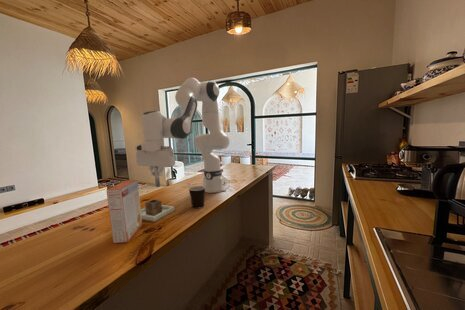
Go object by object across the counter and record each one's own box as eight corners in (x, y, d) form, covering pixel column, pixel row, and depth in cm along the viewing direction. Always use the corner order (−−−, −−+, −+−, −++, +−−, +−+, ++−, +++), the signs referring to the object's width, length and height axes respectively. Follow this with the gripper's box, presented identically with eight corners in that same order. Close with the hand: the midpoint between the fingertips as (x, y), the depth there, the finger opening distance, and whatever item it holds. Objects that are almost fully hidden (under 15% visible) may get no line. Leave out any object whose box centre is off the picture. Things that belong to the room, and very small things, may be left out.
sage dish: (154, 207, 109) (153, 203, 109) (174, 210, 104) (174, 206, 103) (132, 217, 96) (131, 213, 96) (154, 222, 91) (154, 217, 91)
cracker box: (129, 226, 88) (124, 180, 85) (142, 225, 88) (138, 179, 85) (111, 244, 74) (105, 189, 71) (128, 243, 74) (122, 188, 72)
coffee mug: (202, 209, 104) (201, 190, 103) (187, 208, 106) (186, 190, 105) (209, 201, 115) (208, 184, 114) (195, 201, 117) (194, 184, 116)
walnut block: (154, 210, 104) (153, 199, 103) (162, 211, 101) (161, 200, 101) (145, 214, 99) (144, 202, 98) (154, 215, 96) (153, 203, 96)
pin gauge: (157, 185, 95) (155, 161, 94) (160, 186, 95) (158, 161, 93) (154, 187, 94) (152, 161, 92) (157, 187, 93) (155, 162, 91)
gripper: (177, 145, 91) (179, 175, 92) (143, 145, 98) (145, 173, 100) (167, 146, 85) (170, 178, 87) (132, 147, 93) (135, 175, 94)
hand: (156, 175), depth 94 cm, fingers closed on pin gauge, 2 cm apart
